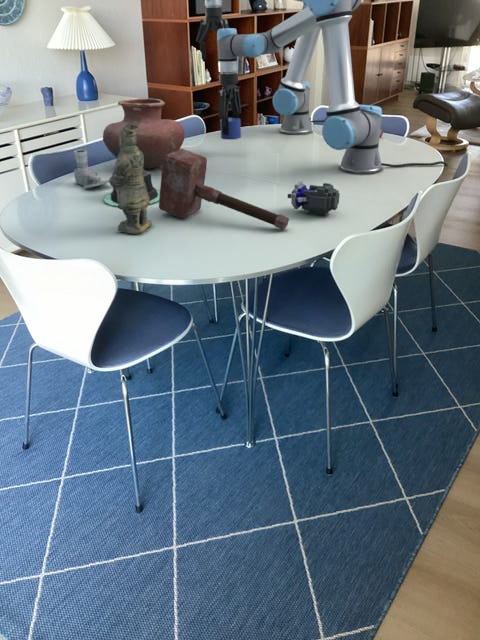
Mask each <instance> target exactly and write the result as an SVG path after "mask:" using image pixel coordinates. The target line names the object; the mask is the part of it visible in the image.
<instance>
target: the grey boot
mask: <svg viewBox="0 0 480 640" xmlns="http://www.w3.org/2000/svg"><path fill="white" fill-rule="evenodd" d="M73 152H74V158H75V160H76V166H77V168H74V170H73V171H74V174H73V175H74V179H75V180H74V181H75V183H76V184H78V185H81V186H83V187H82V188H83V189H88V188H95V187H98V186H103V185H106V184H110V183H109V179H107V180H102V177H101V176H99V175H98V171H96V170H93V169H90V168H89V163H88V158H89V157H88V151H87V149H84V148H83V149H82V148H80V149H75V150H74V151H73Z"/></svg>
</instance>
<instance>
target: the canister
mask: <svg viewBox="0 0 480 640" xmlns="http://www.w3.org/2000/svg"><path fill="white" fill-rule="evenodd" d="M227 118H228V122H229V135H222V118H220V119H219V123H220V124H219V125H220V126H219V127H220V139H222V140H226V141H227V140H228V141H229V140H232V141H233V140H238V139H241V138H242V125H241V124H242V123H241V121H242V120H241V118H240V117H239V118H232V117H227Z"/></svg>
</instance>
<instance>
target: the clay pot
mask: <svg viewBox="0 0 480 640" xmlns="http://www.w3.org/2000/svg"><path fill="white" fill-rule="evenodd" d="M165 104H166V102H165V101H163V100H162V99H159V98H132V99H130V98H129V99H122V100H118V102H117V105H118V106H121V108H122V110H123V115H124V117H123V119H122V120H121V121H117V122H112V123H109V124H107V125H106V126H105V128H104V129H103V131H102V141H103V143H104V145H105V147H106V149H107V150H108V151H109V152H110V153H111V154H112V156H114V157H115V158H116V159H117V156H118V154H119V151H120V147H119V140H118V138H119V133H120V130H121V129H123V128H124V127H125V126H126V125H127V124H128V123H131V122H133V121H137V122H138V123H139V127H138V130H137V131H136V138H137V143H136V146H137V147H138V149H139V150H141V151H142V153H143V156H144V166H143V169H155V168H158V167H161V166H163V158H164V156H165V155H167V154H170V153H172V152H174V151H177V150H179V149H182V146H183V143H184V141H185V137H186V134H185V129H184V127H183V126H182V124H181V123H180V122H178V120H174V119H168V118H167V119H165V118H163V119H162V110H163V107H164V106H165Z"/></svg>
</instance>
